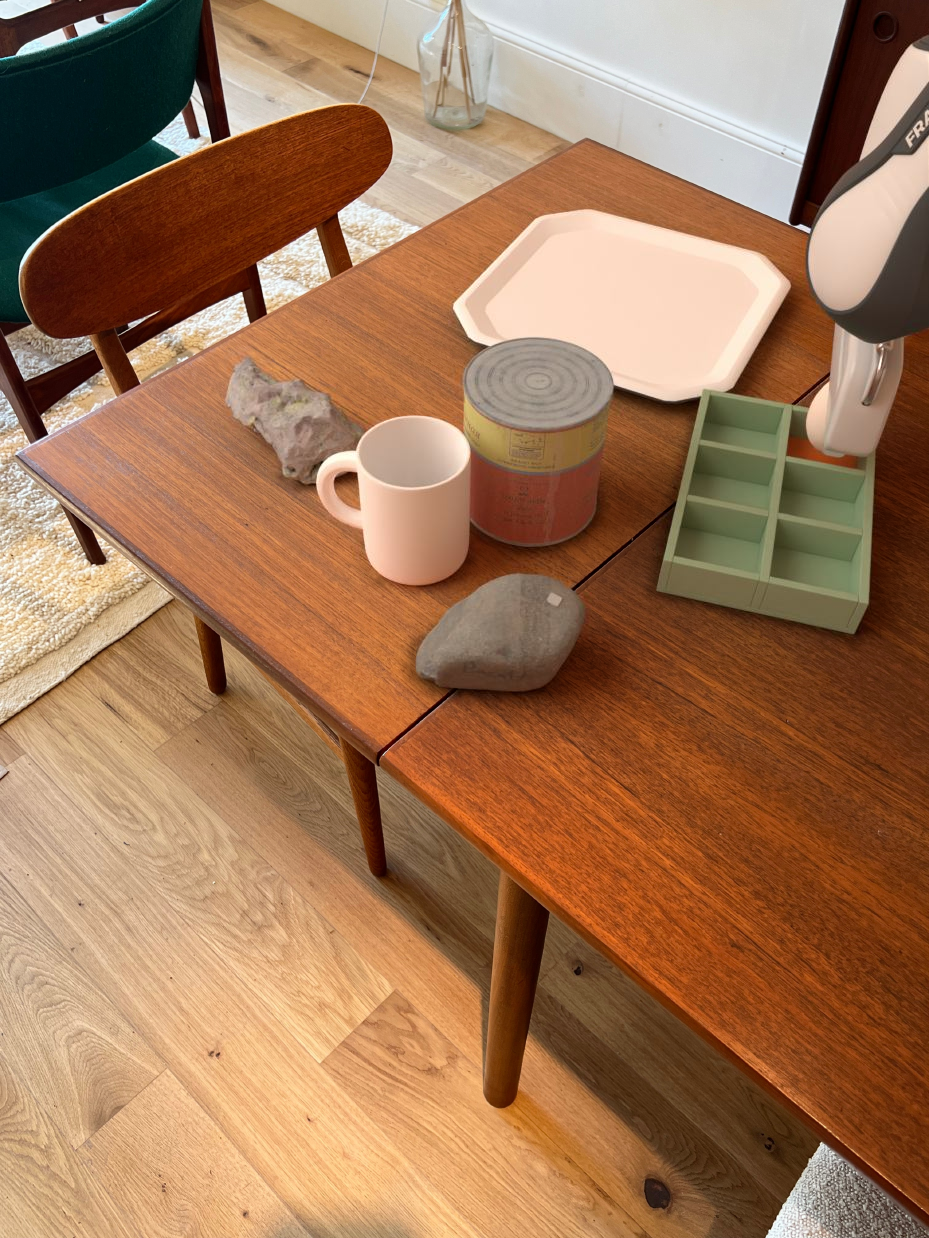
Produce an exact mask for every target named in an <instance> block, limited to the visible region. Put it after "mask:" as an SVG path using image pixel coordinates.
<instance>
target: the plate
mask: <svg viewBox="0 0 929 1238" xmlns="http://www.w3.org/2000/svg"><path fill="white" fill-rule="evenodd" d="M791 289H792V285H791V281H790V280H789V279H788V278H787V277H786V276H785V275H784V274H783V273H782V272H781V271H780V269H778V268H777V267H776V265H775V264H773V262H772V261H771V260H770V259H769V258H768V257H767V256H765V255H764V254H762V253H760V252H759V251H756V250H755V251H754V250H751V249H747V248H743V247H739V246H735V245H732V244H727V243H723V242H720V241H716V240H712V239H708V238H704V237H700V236H697V235H692V234H689V233H685V232H682V231H677V230H674V229H669V228H665V227H661V226H658V225H654V224H650V223H647V222H643V221H640V220H639V221H638V220H634V219H630V218H627V217H622V216H619V215H615V214H611V213H608V212H604V211H600V210H596V209H591V208H590V209H589V208H588V209H587V208H583V209H577V210H570V211H564V212H557V213H556V212H555V213H550V214H544V215H540V216H539V217H536V218H534V220H533V221H532V222H531V223H529V225H528V226H527V227H526V228H525V229H524V230H523V231H522V232H521V233H520V234H519V235H518V236H517V237H516V238H515V240H513V242H511V243H510V244H509V245H508V247H506V248H505V250H504V251H502V253H501V254H500V255H499V256H498V257H496V259H495V260H494V261H493V262H492V263H491V264H490V265H489V266H488V267H487V268H486V269H485V270H484V272H482V274H481V275H479V276H478V278H477V279H476V280H475V281H474V282H473V283H472V284H471V285H470V286H469V287H468V288H467V289H466V290H465V291H464V292H463V293H462V294H461V295H460V296H459V297H458V298H457V299H456V300H455V302H453V306H452V311H453V313H454V315H455V317H456V319H457V321H458V324H459V325H460V326H461V328H462V330H463V332H464V334H465V336H466V337H467V339H468V341H469V342H471V343H472V344H474V345H475V346H479V347H481V348H485V349H486V348H488V347H490V346H492V345H494V344H497V343H500V342H503V341H507V340H512V339H517V338H528V337H539V338H551V339H557V340H561V341H565V342H569V343H572V344H575V345H577V346H580V347H582V348H584V349H586V350H588V351H589V352H591V353H593V354H594V355H595V356H597V357H598V358H599V359H600V360H601V361H602V362H603V363H604V364H605V365H606V366H607V368H608V369H609V371H610V373H611V375H612V378H613V382H614V389H615V390H616V389H617V390H619V391H623V392H626V393H629V394H632V395H635V396H639V397H641V398H645V399H647V400H651V401H654V402H658V403H659V404H665V405H666V404H667V405H677V404H682V403H687V402H693V401H697V400H701V396H702V392H703V389H708V390H714V391H720V392H725V393H730V392H731V391H732V390H734V388H735V386H736V385H737V383H738V381H739V379H740V377H741V376H742V374H743V372H744V371H745V369H746V367H747V365H748V364H749V362H750V360H751V359H752V357H753V355H754V353H755V352H756V350H757V348H758V347H759V345H760V343H761V341H762V340H763V337H764V336H765V334H766V332H767V331H768V330H769V327H770V326H771V324H772V322H773V320H774V319H775V317H776V315H777V313H778V312H779V310H780V308H781V306H782V305H783V303H784V301H785V299H786V298H787V297H788V294H789V292H790V291H791Z"/></svg>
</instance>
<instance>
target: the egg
mask: <svg viewBox="0 0 929 1238" xmlns="http://www.w3.org/2000/svg"><path fill="white" fill-rule="evenodd" d="M829 382H830V380H829V381H828V382H827V383H826V384H824V385H823V386H822V387H821V389H820V390H819V391H818V392H817V393H816V395H815V396H814V398H813V399H812V401H811V403H810V405H809V407H808V408H809V411H808V414H807V419H806V430H807V435H808V439H809V441H810V442H811V444H812V445H813V447H814V448H815V449H816V450H818V451H819V452H821V453H823V452H822V448H823V440H824V431H825V421H826V412H827V402H828V392H829Z"/></svg>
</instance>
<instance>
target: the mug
mask: <svg viewBox="0 0 929 1238" xmlns="http://www.w3.org/2000/svg"><path fill="white" fill-rule="evenodd" d="M470 465H471V451H470V446H469V443H468V441H467V439H466V437H465V436H464V432H462V430H460V429H459V428H458V427H456V426H455V425H453V424H452V423H450V422H448V421H445V420H443V419H440V418H437V417H432V416H426V415H403V416H396V417H392V418H390V419H386V420H383V421H381V422H378V423H377V424H375V425H373V426H372V427H371V428H370V429H368V430H366V433H365V434H364V435H363V436H362V438H361V439H360V441H359V443H358V446H357V449H356V451H345V452H340V453H337V454H334V455H332V456H331V457H329V458H328V459H327V460H326V461H325V462H324V463H323V464H322V465H321V467H320V468H319V471H318V474H317V481H316V483H315V484H316V491H317V494H318V497H319V499H320V502H321V503H322V505H323V506H324V508H325V509H326V510H327V512H328V513H329V514H330V515H331V516H332V517H333V518H334V519H336V520H338V521H339V522H341V523H343V524H345V525H347V526H350V527H353V528H355V529H358V530H362V534H363V541H364V542H363V543H364V548H365V554H366V556H367V560H368V562H369V563H370V565H371V566H372V568H373V569H374V570H375V571H377V573H378V574H379V575H380V576H382V577H384V578H385V579H387V580H389V581H392V582H394V583H397V584H401V585H408V586H426V585H431V584H435V583H438V582H441V581H444V580H445V579H447V578H449V577H450V576H452V575H453V574H454V573H456V572H457V571H458V570H459V569H460V568H461V566H462V565H463V564H464V562H465V560H466V559H467V555H468V551H469V547H470V546H469V544H470V523H471V521H470ZM344 471H348V472H352V473H357V480H358V481H357V482H358V492H359V504H360V509H358V508H357V509H356V508H354V507H352V506H349V505H347V504H346V503H345V502H343V501H342V500H341V499H340V497H339V496H338V494H337V493H336V490H335V483H334V482H335V479H336V477H335V476H336V475H337V474H338V473H340V472H344Z"/></svg>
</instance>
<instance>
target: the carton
mask: <svg viewBox="0 0 929 1238" xmlns="http://www.w3.org/2000/svg"><path fill="white" fill-rule="evenodd" d="M809 408H810V407H806V406H802V405H795V404H790V403H784V402H779V401H775V400H769V399H765V398H758V397H752V396H746V395H742V394H735V393H730V392H728V393H725V392H720V391H714V390H708V389H703V392H702V396H701V399H699V405H698V409H697V413H696V418H695V422H694V426H693V431H692V434H691V439H690V442H689V443H690V444H689V447H688V452H687V455H686V461H685V465H684V468H683V473H682V478H681V482H680V486H679V491H678V495H677V499H676V502H675V503H676V504H675V507H674V512H673V517H672V520H671V525H670V528H669V530H670V531H669V533H668V537H667V543H666V547H665V550H664V554H663V558H662V565H661V568H660V573H659V575H658V580H657V585H656V589H655V591H656V592H659V593H663V594H668V595H673V596H677V597H682V598H686V599H691V600H695V601H700V602H704V603H709V604H714V605H717V606H722V607H727V608H732V609H736V610H740V611H746V612H749V613H754V614H759V615H764V616H768V617H772V618H777V619H781V620H786V621H791V622H795V623H800V624H805V625H808V626H813V627H818V628H823V629H827V630H830V631H831V630H832V631H836V632H841V633H846V634H850V635H855V633H856V631H857V629H858V627H859V625H860V623H861V621H862V619H863V617H864V614H865V613H866V610H867V608H868V607H869V605H870V587H871V586H870V584H871V565H872V564H871V563H872V562H871V561H872V543H873V541H872V539H873V518H874V515H873V514H874V496H875V475H876V474H875V472H876V450H877V448H876V449H875V451H874V452H873V453H872V454H871V455H870V456H868V457H858V456H852V455H847V454H845V455H844V456H843V457H839V458H838V457H833V456H828V455H825V454H823V453H821V452H819V451H818V450H816V449H815V448H814V447H813V445H812V444H811V442H810V441H809V439H808V435H807V430H806V419H807V414H808V411H809Z"/></svg>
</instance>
